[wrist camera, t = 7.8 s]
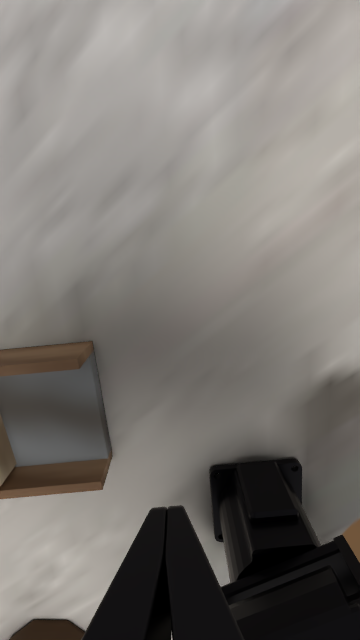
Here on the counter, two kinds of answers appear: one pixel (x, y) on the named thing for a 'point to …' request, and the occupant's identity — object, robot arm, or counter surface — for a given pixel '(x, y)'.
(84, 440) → the brown wooden tray
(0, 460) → the tan wooden brick
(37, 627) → the beer bottle
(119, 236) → the counter surface
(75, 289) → the counter surface
